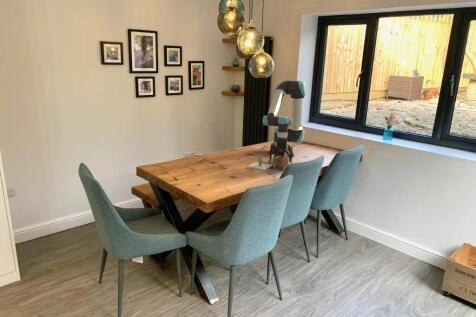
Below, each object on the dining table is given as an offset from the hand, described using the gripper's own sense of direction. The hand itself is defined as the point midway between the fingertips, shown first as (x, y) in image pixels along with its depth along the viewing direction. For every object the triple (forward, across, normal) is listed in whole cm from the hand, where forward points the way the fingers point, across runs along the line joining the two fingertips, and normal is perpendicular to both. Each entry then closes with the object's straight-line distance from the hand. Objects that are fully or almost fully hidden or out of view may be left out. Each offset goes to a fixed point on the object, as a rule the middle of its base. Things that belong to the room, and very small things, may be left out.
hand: (280, 164), depth 278 cm
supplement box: (+4, -6, +15) cm, 17 cm away
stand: (+4, 0, 0) cm, 4 cm away
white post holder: (+4, -15, -4) cm, 16 cm away
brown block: (+1, 0, 0) cm, 1 cm away
